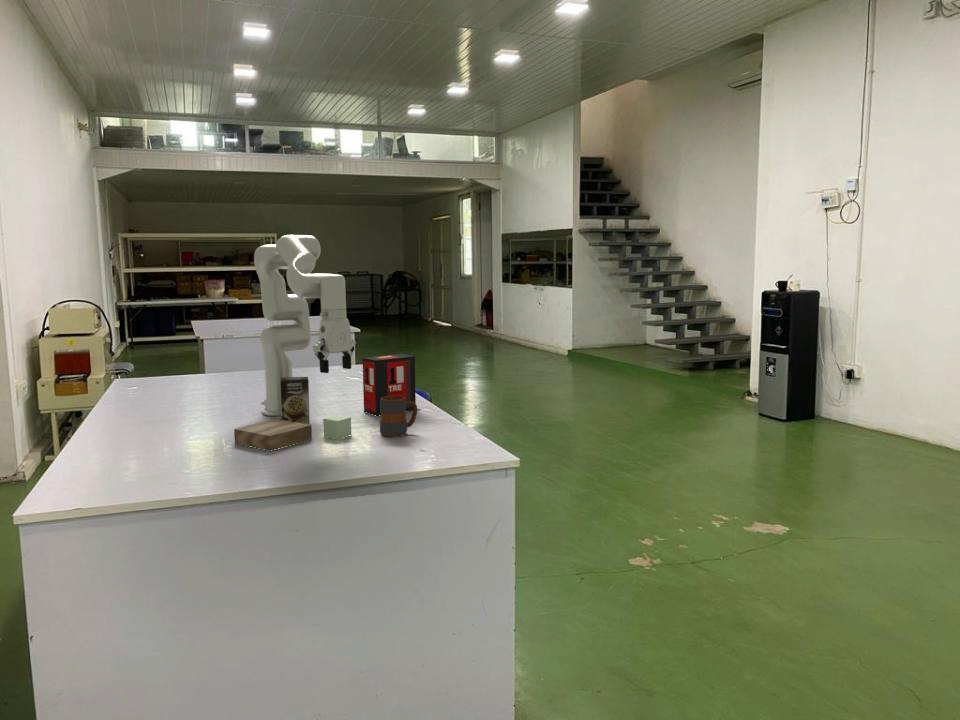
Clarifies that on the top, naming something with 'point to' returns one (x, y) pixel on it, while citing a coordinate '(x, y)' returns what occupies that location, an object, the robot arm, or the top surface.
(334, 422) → the sage cube
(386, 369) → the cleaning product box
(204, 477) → the top surface
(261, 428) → the walnut block
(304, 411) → the coffee box
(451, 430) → the top surface
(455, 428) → the top surface
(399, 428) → the mug
